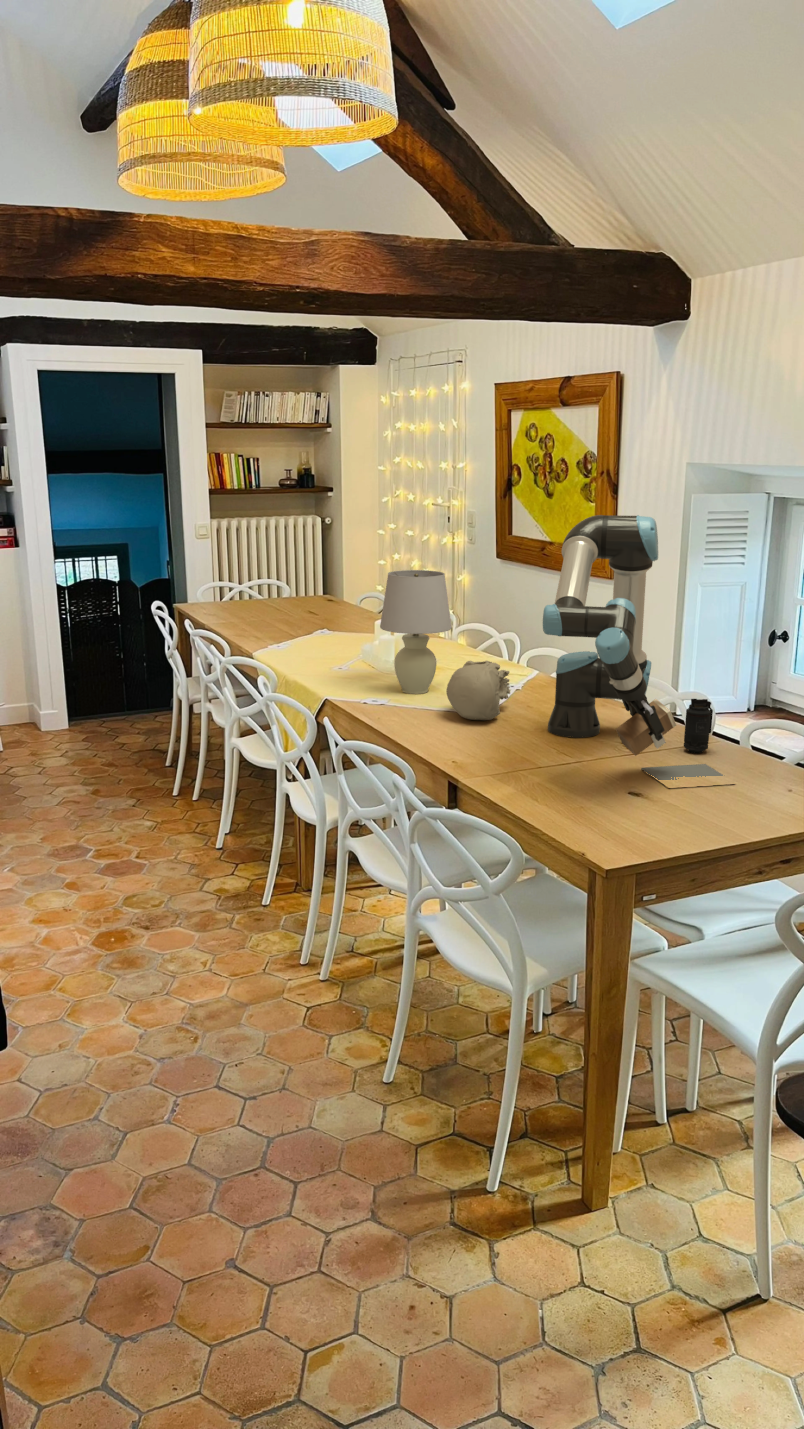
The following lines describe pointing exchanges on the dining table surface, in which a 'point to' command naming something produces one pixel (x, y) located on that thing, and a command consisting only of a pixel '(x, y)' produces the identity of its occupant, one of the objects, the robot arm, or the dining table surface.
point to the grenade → (698, 725)
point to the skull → (478, 690)
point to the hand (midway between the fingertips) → (652, 737)
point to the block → (643, 729)
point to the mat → (681, 771)
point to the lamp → (415, 623)
